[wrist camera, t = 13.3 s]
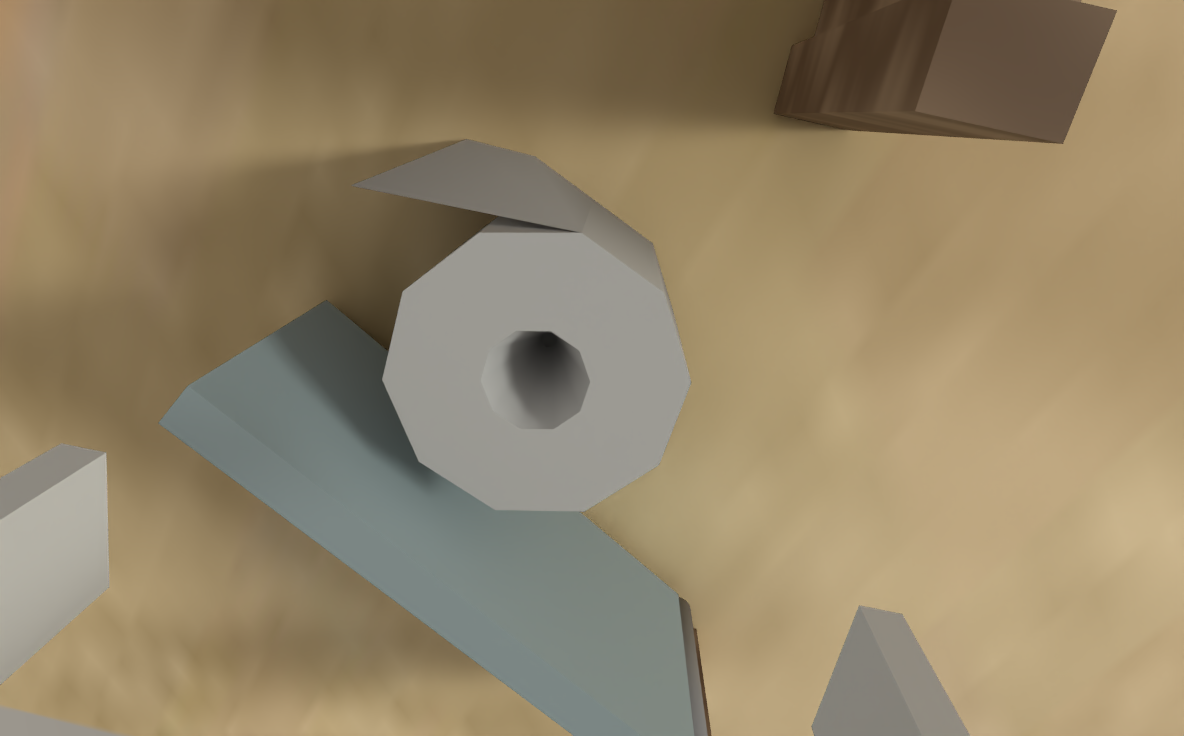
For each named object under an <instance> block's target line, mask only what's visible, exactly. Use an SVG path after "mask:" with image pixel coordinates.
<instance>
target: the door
mask: <svg viewBox="0 0 1184 736" xmlns="http://www.w3.org/2000/svg"><path fill="white" fill-rule="evenodd" d="M387 357H388V351H387V350H386V349H385V348H383V347H382V346H381V345H380V344H379V343H377V342H376V341H375V340H374V339H373V338H371V337H370V336H369V335H368V334H367V333H365V332H364V331H363V330H362V329H361V328H360V327H358V326H357V325H356V324H355V323H354V322H352V321H351V320H350V319H349V318H348V317H346V316H345V315H344V314H343V313H342V312H340V311H339V310H338V309H337V308H336V307H334V306H333V305H332V304H331V303H330V302H328V301H327V300H326V301H324V302H322V303H321V304H319V305H317V306H316V307H314V308H313V309H311V310H309V311H308V312H306V313H305V314H303V315H301V316H300V317H298V318H296V319H295V320H293V321H292V322H290V323H288V324H287V325H285V326H283V327H282V328H280V329H279V330H277V331H275V332H274V333H272V334H271V335H269V336H267V337H266V338H264V339H262V340H261V341H259V342H258V343H256V344H254V345H253V346H251V347H250V348H248V349H246V350H245V351H243V352H241V353H240V354H238V355H237V356H235V357H233V358H232V359H230V360H229V361H227V362H225V363H224V364H222V365H220V366H219V367H217V368H216V369H214V370H212V371H211V372H209V373H208V374H206V375H204V376H203V377H201V378H199V379H198V380H196V381H195V382H193V383H191V384H190V385H188V386H187V387H186V389H185V390H184V391H183V392H182V394H181V395H180V396H179V398H178V399H177V400H176V401H175V403H174V404H173V405H172V406H171V408H170V409H169V410H168V412H167V413H166V414H165V415H164V417H163V418H162V419H161V420H160V422H159V424H160V425H161V426H163V427H164V428H165V429H167V430H168V431H169V432H171V433H172V434H173V435H175V436H176V437H177V438H179V439H180V440H181V441H183V442H184V443H185V444H187V445H188V446H189V447H191V448H192V449H193V450H195V451H196V452H197V453H199V454H200V455H201V456H203V457H204V458H205V459H207V460H208V461H209V462H211V463H212V464H213V465H215V466H216V467H217V468H219V469H220V470H221V471H223V472H224V473H225V474H226V475H228V476H229V477H230V478H232V479H233V480H234V481H236V482H237V483H238V484H240V485H241V486H242V487H244V488H245V489H246V490H248V491H249V492H250V493H252V494H253V495H254V496H256V497H257V498H258V499H260V500H261V501H262V502H264V503H265V504H266V505H268V506H269V507H270V508H272V509H273V510H274V511H276V512H277V513H278V514H280V515H281V516H282V517H284V518H285V519H286V520H288V521H289V522H290V523H292V524H293V525H294V526H296V527H297V528H298V529H300V530H301V531H302V532H304V533H305V534H306V535H308V536H309V537H310V538H312V539H313V540H314V541H316V542H317V543H318V544H320V545H321V546H322V547H324V548H325V549H326V550H328V551H329V552H330V553H332V554H333V555H334V556H336V557H337V558H338V559H339V560H341V561H342V562H343V563H345V564H346V565H347V566H349V567H350V568H351V569H353V570H354V571H355V572H357V573H358V574H359V575H361V576H362V577H363V578H365V579H366V580H367V581H369V582H370V583H371V584H373V585H374V586H375V587H377V588H378V589H379V590H381V591H382V592H383V593H385V594H386V595H387V596H389V597H390V598H391V599H393V600H394V601H395V602H397V603H398V604H399V605H401V606H402V607H403V608H405V609H406V610H407V611H409V612H410V613H411V614H413V615H414V616H415V617H417V618H418V619H419V620H421V621H422V622H423V623H425V624H426V625H427V626H429V627H430V628H431V629H433V630H434V631H435V632H437V633H438V634H439V635H441V636H442V637H443V638H445V639H446V640H447V641H448V642H450V643H451V644H452V645H454V646H455V647H456V648H458V649H459V650H460V651H462V652H463V653H464V654H466V655H467V656H468V657H470V658H471V659H472V660H474V661H475V662H476V663H478V664H479V665H480V666H482V667H483V668H484V669H486V670H487V671H488V672H490V673H491V674H492V675H494V676H495V677H496V678H498V679H499V680H500V681H502V682H503V683H504V684H506V685H507V686H508V687H510V688H511V689H512V690H514V691H515V692H516V693H518V694H519V695H520V696H522V697H523V698H524V699H526V700H527V701H528V702H530V703H531V704H532V705H534V706H535V707H536V708H538V709H539V710H540V711H542V712H543V713H544V714H546V715H547V716H548V717H550V718H551V719H552V720H554V721H555V722H556V723H558V724H559V725H560V726H561V727H563V728H564V729H565V730H567V731H568V732H569V733H571V734H572V735H573V736H708V734H707V727H706V720H705V712H704V705H703V697H702V690H701V683H700V675H699V668H698V661H697V653H696V646H695V638H694V631H693V624H692V616H691V609H690V606H689V604H688V602H687V601H685V600H684V599H682V598H680V597H678V594H677V593H676V592H675V591H674V590H672V589H671V588H670V587H669V586H668V585H666V584H665V583H664V582H663V581H662V580H660V579H659V578H658V577H657V576H656V575H654V574H653V573H652V572H651V571H650V570H649V569H647V568H646V567H645V566H644V565H643V564H641V563H640V562H639V561H638V560H637V559H635V558H634V557H633V556H632V555H631V554H629V553H628V552H627V551H626V550H625V549H623V548H622V547H621V546H620V545H619V544H617V543H616V542H615V541H614V540H613V539H611V538H610V537H609V536H608V535H607V534H606V533H604V532H603V531H602V530H601V529H600V528H598V527H597V526H596V525H595V524H594V523H592V522H591V521H590V520H589V519H588V518H586V517H585V516H584V515H583V514H582V513H580V512H579V511H520V510H494V509H493V508H491V507H489V506H488V505H486V504H485V503H483V502H482V501H480V500H478V499H477V498H475V497H474V496H472V495H471V494H469V493H467V492H466V491H464V490H463V489H461V488H460V487H458V486H456V485H455V484H453V483H452V482H450V481H449V480H447V479H445V478H444V477H442V476H441V475H439V474H438V473H436V472H434V471H433V470H431V469H430V468H428V467H427V466H425V465H423V464H422V463H420V462H419V461H418V459H417V456H416V454H415V452H414V450H413V448H412V445H411V443H410V441H409V439H408V436H407V434H406V432H405V430H404V427H403V425H402V423H401V421H400V419H399V416H398V414H397V412H396V410H395V407H394V405H393V403H392V401H391V399H390V396H389V394H388V392H387V390H386V387H385V385H384V383H383V381H382V378H383V374H384V369H385V365H386V361H387Z"/></svg>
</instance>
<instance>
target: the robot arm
mask: <svg viewBox="0 0 1184 736" xmlns="http://www.w3.org/2000/svg"><path fill="white" fill-rule="evenodd" d="M108 588H109V551H108V507H107V463H106V452H101V451H96V450H91V449H86V448H81V447H76V446H72V445H67V444H62V443H61V444H59V445H58V446H56V447H54V448H52V449H50V450H49V451H47V452H45V453H43V454H42V455H40V456H38V457H36V458H35V459H33V460H31V461H29V462H28V463H26V464H24V465H22V466H21V467H19V468H17V469H15V470H14V471H12V472H10V473H8V474H6V475H5V476H3V477H1V478H0V685H1V684H2V683H3V682H4V681H5V680H6V679H7V678H9V677H10V676H11V675H12V674H13V673H14V672H15V671H16V670H17V669H19V668H20V667H21V666H22V665H23V664H24V663H25V662H26V661H27V660H29V659H30V658H31V657H32V656H33V655H34V654H35V653H36V652H37V651H39V650H40V649H41V648H42V647H43V646H44V645H45V644H46V643H47V642H49V641H50V640H51V639H52V638H53V637H54V636H55V635H56V634H57V633H59V632H60V631H61V630H62V629H63V628H64V627H65V626H66V625H68V624H69V623H70V622H71V621H72V620H73V619H74V618H75V617H76V616H78V615H79V614H80V613H81V612H82V611H83V610H84V609H85V608H86V607H88V606H89V605H90V604H91V603H92V602H93V601H94V600H95V599H96V598H98V597H99V596H100V595H101V594H102V593H103V592H104V591H105V590H106V589H108ZM812 730H813V733H814V736H970V735H969V733H968V731H967V729H966V727H965V726H964V724H963V722H962V720H961V719H960V717H959V715H958V713H957V711H956V710H955V708H954V706H953V704H952V702H951V701H950V699H949V697H948V695H947V693H946V692H945V690H944V688H943V686H942V685H941V683H940V681H939V679H938V677H937V676H936V674H935V672H934V670H933V668H932V667H931V665H930V663H929V661H928V659H927V658H926V656H925V654H924V652H923V651H922V649H921V647H920V645H919V643H918V642H917V640H916V638H915V636H914V634H913V633H912V631H911V629H910V627H909V625H908V624H907V622H906V620H905V618H904V616H903V615H902V614H900V613H895V612H890V611H885V610H880V609H875V608H870V607H865V606H860V605H859V607H858V610H857V612H856V615H855V617H854V620H853V623H852V625H851V628H850V630H849V633H848V635H847V638H846V640H845V643H844V645H843V648H842V650H841V653H840V656H839V658H838V661H837V663H836V666H835V668H834V671H833V673H832V676H831V678H830V681H829V684H828V686H827V689H826V691H825V694H824V696H823V699H822V701H821V704H820V706H819V709H818V711H817V714H816V717H815V719H814V722H813V724H812Z"/></svg>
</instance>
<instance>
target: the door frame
mask: <svg viewBox="0 0 1184 736" xmlns="http://www.w3.org/2000/svg"><path fill="white" fill-rule="evenodd" d="M1116 12H1117V10H1112V9H1108V8H1103V7H1099V6H1094V5H1090V4H1086V3H1081V0H825V1H824V4H823V8H822V11H821V15H820V18H819V22H818V26H817V29H816V33H815V36H814V37H812V38H809V39H807V40H805V41H802V42H800V43H797V44H795V45H793V46H792V48H791V52H790V56H789V59H788V63H787V67H786V70H785V74H784V78H783V81H782V85H781V89H780V92H779V96H778V100H777V103H776V107H775V111H774V114H778V115H782V116H787V117H792V118H796V119H801V120H805V121H810V122H815V123H819V124H824V125H828V126H833V127H837V128H842V129H847V130H853V131H869V132H885V133H901V134H917V135H932V136H948V137H964V138H980V139H996V140H1012V141H1028V142H1044V143H1060V144H1063V142H1064V140H1065V137H1066V135H1067V133H1068V130H1069V128H1070V125H1071V123H1072V120H1073V118H1074V115H1075V113H1076V110H1077V108H1078V106H1079V103H1080V101H1081V98H1082V96H1083V93H1084V91H1085V88H1086V86H1087V83H1088V81H1089V78H1090V76H1091V74H1092V71H1093V69H1094V66H1095V64H1096V61H1097V59H1098V56H1099V54H1100V51H1101V49H1102V46H1103V44H1104V42H1105V39H1106V37H1107V34H1108V32H1109V29H1110V27H1111V24H1112V22H1113V19H1114V17H1115V15H1116ZM693 631H694V638H695V646H696V653H697V661H698V668H699V675H700V683H701V690H702V697H703V705H704V712H705V720H706V727H707V734H708V736H711V729H710V722H709V715H708V708H707V701H706V694H705V687H704V680H703V673H702V666H701V659H700V651H699V644H698V637H697V630H696V629H694V628H693Z"/></svg>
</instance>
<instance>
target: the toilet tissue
mask: <svg viewBox="0 0 1184 736" xmlns="http://www.w3.org/2000/svg"><path fill="white" fill-rule="evenodd" d="M351 186H355V187H360V188H365V189H370V190H375V191H379V192H384V193H389V194H394V195H399V196H404V197H409V198H414V199H419V200H424V201H428V202H433V203H438V204H443V205H448V206H453V207H458V208H463V209H468V210H473V211H477V212H482V213H487V214H492V215H497V216H498V217H497V218H496V219H494V220H493V221H492V222H490V223H489V224H488V225H486V226H485V227H484V228H483V229H481V230H480V231H479V232H477V233H476V234H475V235H473V236H472V237H471V238H470V239H468V240H467V241H466V242H464V243H463V244H462V245H461V246H459V247H458V248H457V249H455V250H454V251H453V252H452V253H450V254H449V255H448V256H447V257H445V258H444V259H443V260H442V261H440V262H439V263H438V264H437V265H435V266H434V267H433V268H432V269H430V270H429V271H428V272H426V273H425V274H424V275H423V276H421V277H420V278H419V279H418V280H416V281H415V282H414V283H413V284H411V285H410V286H409V287H408V288H406V289H405V290H404V291H403V292H402V297H401V301H400V305H399V310H398V314H397V318H396V322H395V327H394V331H393V335H392V339H391V344H390V348H389V352H388V357H387V361H386V365H385V369H384V374H383V378H382V381H383V383H384V385H385V387H386V390H387V392H388V394H389V396H390V399H391V401H392V403H393V405H394V407H395V410H396V412H397V414H398V416H399V419H400V421H401V423H402V425H403V427H404V430H405V432H406V434H407V436H408V439H409V441H410V443H411V445H412V448H413V450H414V452H415V454H416V456H417V459H418V461H419V462H420V463H422V464H423V465H425V466H427V467H428V468H430V469H431V470H433V471H434V472H436V473H438V474H439V475H441V476H442V477H444V478H445V479H447V480H449V481H450V482H452V483H453V484H455V485H456V486H458V487H460V488H461V489H463V490H464V491H466V492H467V493H469V494H471V495H472V496H474V497H475V498H477V499H478V500H480V501H482V502H483V503H485V504H486V505H488V506H489V507H491V508H493V509H494V510H520V511H579V512H585V511H586V510H588V509H589V508H591V507H593V506H594V505H596V504H597V503H599V502H601V501H602V500H604V499H605V498H607V497H609V496H610V495H612V494H613V493H615V492H617V491H618V490H620V489H621V488H623V487H625V486H626V485H628V484H629V483H631V482H633V481H634V480H636V479H637V478H639V477H641V476H642V475H644V474H645V473H647V472H649V471H650V470H652V469H653V468H655V467H657V466H658V465H659V464H660V461H661V458H662V456H663V453H664V451H665V448H666V446H667V443H668V441H669V438H670V436H671V433H672V430H673V428H674V425H675V423H676V420H677V418H678V415H679V413H680V410H681V408H682V405H683V402H684V400H685V397H686V395H687V392H688V390H689V387H690V385H691V380H690V376H689V372H688V368H687V364H686V360H685V356H684V352H683V348H682V344H681V340H680V336H679V332H678V328H677V324H676V320H675V316H674V312H673V309H672V306H671V302H670V299H669V296H668V292H667V289H666V286H665V282H664V279H663V276H662V273H661V269H660V266H659V263H658V259H657V256H656V253H655V249H654V246H653V243H652V242H650V241H649V240H648V239H646V238H645V237H643V236H642V235H641V234H639V233H638V232H637V231H635V230H634V229H633V228H631V227H630V226H629V225H627V224H626V223H625V222H623V221H622V220H620V219H619V218H618V217H616V216H615V215H614V214H612V213H611V212H610V211H608V210H607V209H606V208H604V207H603V206H602V205H600V204H599V203H597V202H596V201H595V200H593V199H592V198H591V197H589V196H588V195H587V194H585V193H584V192H583V191H581V190H580V189H579V188H577V187H576V186H574V185H573V184H572V183H570V182H569V181H568V180H566V179H565V178H564V177H562V176H561V175H560V174H558V173H557V172H556V171H554V170H553V169H551V168H550V167H549V166H547V165H546V164H545V163H543V162H542V161H541V160H539V159H538V158H537V157H535V156H532V155H528V154H524V153H520V152H516V151H512V150H508V149H504V148H500V147H496V146H492V145H488V144H484V143H480V142H476V141H472V140H468V139H466V140H463V141H461V142H458V143H456V144H453V145H451V146H448V147H446V148H443V149H441V150H438V151H436V152H433V153H431V154H428V155H426V156H423V157H421V158H418V159H416V160H413V161H411V162H408V163H406V164H403V165H401V166H398V167H396V168H393V169H391V170H388V171H386V172H383V173H381V174H378V175H376V176H373V177H371V178H368V179H366V180H363V181H361V182H358V183H356V184H353V185H351Z"/></svg>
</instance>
